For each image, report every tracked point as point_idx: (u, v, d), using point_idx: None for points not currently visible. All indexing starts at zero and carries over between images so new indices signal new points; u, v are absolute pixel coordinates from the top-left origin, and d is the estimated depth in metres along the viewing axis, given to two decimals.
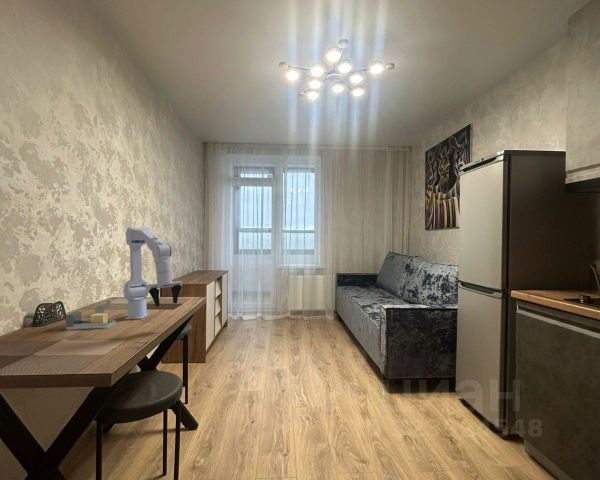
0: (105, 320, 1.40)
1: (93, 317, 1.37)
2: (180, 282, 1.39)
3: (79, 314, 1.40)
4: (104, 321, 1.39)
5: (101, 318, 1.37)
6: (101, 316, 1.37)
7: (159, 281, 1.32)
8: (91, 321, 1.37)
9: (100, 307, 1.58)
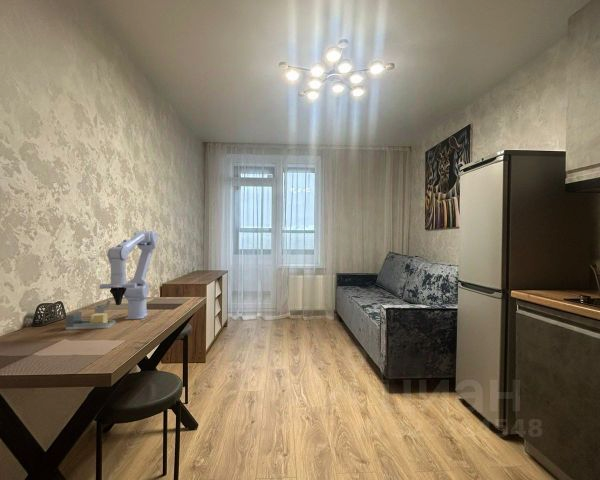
0: (105, 320, 1.40)
1: (93, 317, 1.37)
2: (133, 285, 1.40)
3: (79, 314, 1.40)
4: (104, 321, 1.39)
5: (101, 318, 1.37)
6: (101, 316, 1.37)
7: None
8: (91, 321, 1.37)
9: (100, 307, 1.58)
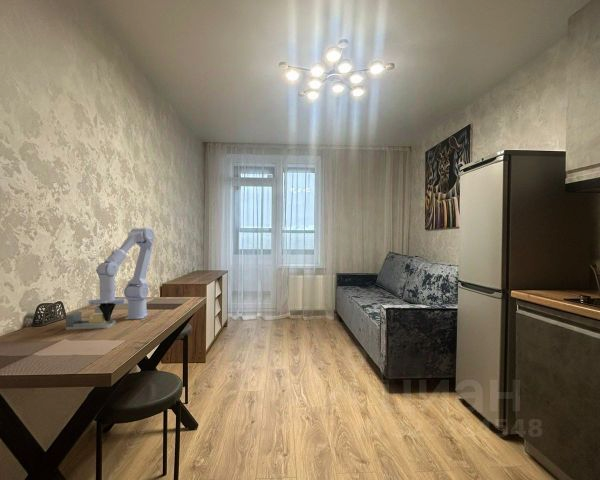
0: (104, 320, 1.40)
1: (92, 317, 1.37)
2: (122, 301, 1.40)
3: (79, 314, 1.40)
4: (103, 321, 1.39)
5: (99, 318, 1.37)
6: (100, 316, 1.37)
7: None
8: (90, 321, 1.37)
9: None
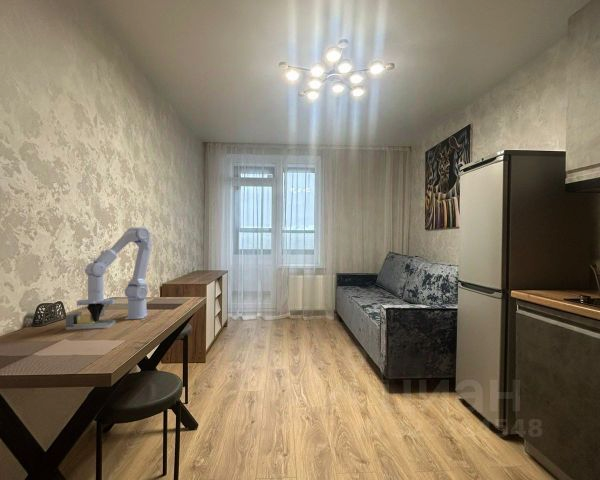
0: (92, 320, 1.39)
1: (80, 318, 1.36)
2: (110, 301, 1.39)
3: (79, 314, 1.40)
4: (91, 322, 1.38)
5: (87, 318, 1.37)
6: (88, 316, 1.37)
7: (88, 298, 1.38)
8: (78, 322, 1.36)
9: None
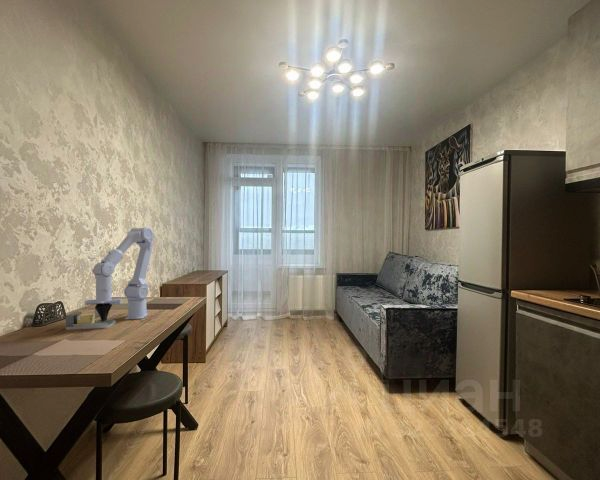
0: (92, 320, 1.39)
1: (80, 318, 1.36)
2: (118, 301, 1.39)
3: (79, 314, 1.40)
4: (91, 322, 1.38)
5: (87, 318, 1.37)
6: (88, 317, 1.37)
7: (96, 298, 1.38)
8: (78, 322, 1.36)
9: None
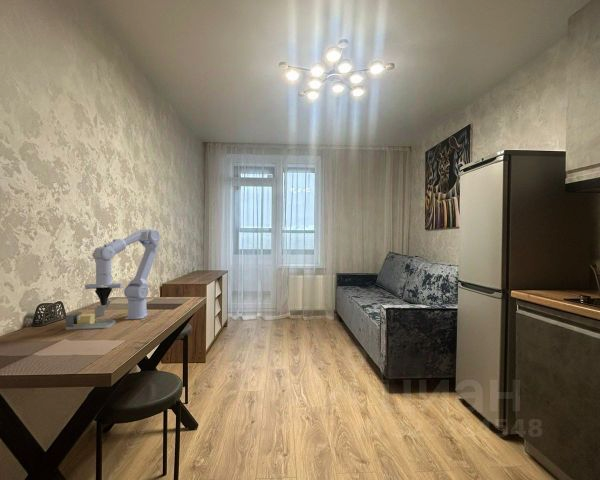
0: (92, 320, 1.39)
1: (80, 318, 1.36)
2: (118, 285, 1.39)
3: (79, 314, 1.40)
4: (91, 322, 1.38)
5: (87, 318, 1.37)
6: (88, 317, 1.37)
7: (96, 282, 1.38)
8: (78, 322, 1.36)
9: (100, 307, 1.58)
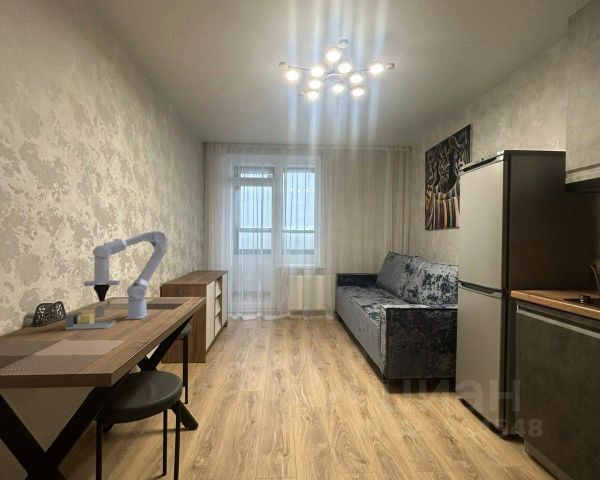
0: (92, 320, 1.39)
1: (80, 318, 1.36)
2: (116, 282, 1.45)
3: (79, 314, 1.40)
4: (91, 322, 1.38)
5: (87, 318, 1.37)
6: (88, 317, 1.37)
7: (94, 279, 1.44)
8: (78, 322, 1.36)
9: (100, 307, 1.58)
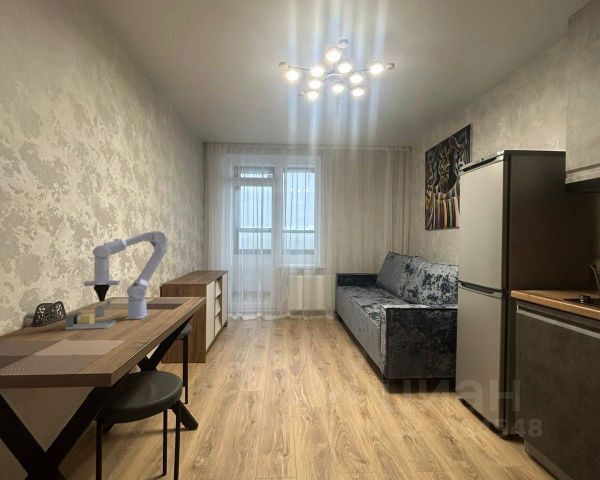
0: (92, 320, 1.39)
1: (80, 318, 1.36)
2: (116, 282, 1.45)
3: (79, 314, 1.40)
4: (91, 322, 1.38)
5: (87, 318, 1.37)
6: (88, 317, 1.37)
7: (94, 279, 1.44)
8: (78, 322, 1.36)
9: (100, 307, 1.58)
